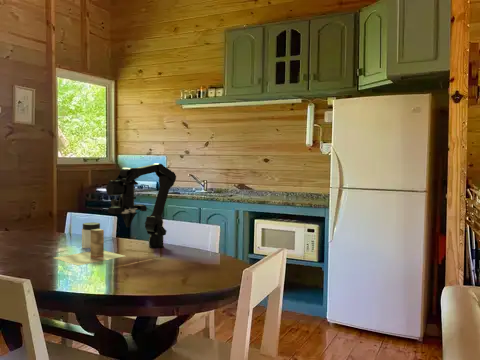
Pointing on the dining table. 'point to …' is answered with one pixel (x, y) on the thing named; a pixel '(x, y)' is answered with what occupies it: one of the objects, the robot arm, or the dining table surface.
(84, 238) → the jar
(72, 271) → the dining table surface
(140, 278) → the dining table surface
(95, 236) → the block
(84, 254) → the board
